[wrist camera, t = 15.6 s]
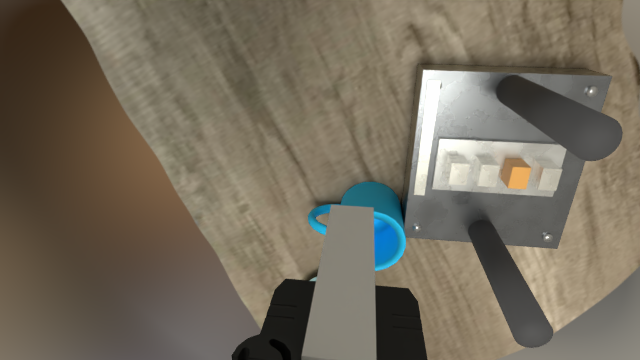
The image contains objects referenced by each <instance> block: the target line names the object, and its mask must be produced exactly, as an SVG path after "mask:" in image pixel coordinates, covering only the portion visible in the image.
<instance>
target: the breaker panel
mask: <svg viewBox="0 0 640 360" xmlns="http://www.w3.org/2000/svg"><path fill="white" fill-rule="evenodd" d="M511 75H518V76H521V77H523V78H525V79H528V80H530V81H532V82H534V83H536V84H539V85H541V86H543V87H545V88H547V89H550V90H552V91H554V92H556V93H558V94H561V95H563V96H565V97H567V98H569V99H572V100H574V101H576V102H578V103H580V104H583V105H585V106H587V107H589V108H591V109H594V110H596V111H598V112H600V113H601V110H602V107H603V104H604V101H605V97H606V94H607V91H608V88H609V85H610V82H611V79H612V76H610V75H606V74H603V73H599V72H596V71H592V70H589V69H576V68H544V67H511V66H479V65H446V64H418V67H417V75H416V84H415V93H414V101H413V110H412V119H411V127H410V136H409V145H408V153H407V162H406V171H405V180H404V188H403V197H402V206H401V210H402V217H403V223H404V230H405V236H406V237H408V238H421V239H434V240H447V241H460V242H472V241H471V239H470V237H469V234H468V229H469V227H470V225H471V224H472V223H474V222H475V221H478V220H487V221H489V222H491V223H492V224H493V225H494V227H495V229H496V231H497V232H498V234H499V236H500V238H501V239H502V241H503V243H504V245H513V246H527V247H540V248H553V249H557V248H558V245H559V242H560V239H561V236H562V232H563V229H564V226H565V223H566V220H567V217H568V214H569V210H570V207H571V204H572V201H573V198H574V195H575V192H576V188H577V185H578V182H579V179H580V176H581V173H582V170H583V166H584V163H585V160H582V159H580V158H578V157H576V156H575V155H574V154H572V153H571V152H569V151H568V150H567V149H565V148H564V147H562V146H561V145H560V144H558V143H557V142H555V141H554V140H553V139H551V138H550V137H549V136H547V135H546V134H544V133H543V132H542V131H540V130H539V129H537V128H536V127H535V126H533V125H532V124H530V123H529V122H528V121H526V120H525V119H523V118H522V117H521V116H519V115H518V114H517V113H515V112H514V111H512V110H511V109H510V108H508V107H507V106H505V105H504V104H503V103H501V102H500V101H499V100H498V98H497V95H496V90H497V87H498V85H499V83H500V82H501V81H502V80H503V79H504V78H506V77H508V76H511ZM505 159H523V160H524V161H525V162H526V163H527V164H528V165H529V166H530V167H531V172H530V176H529V180H528V183H527V187H526V189H512V188H507V187H506V185H505V184H504V183H503V181H502V180H501V176H502V171H503V167H504V162H505Z"/></svg>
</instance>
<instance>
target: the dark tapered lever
mask: <svg viewBox="0 0 640 360" xmlns="http://www.w3.org/2000/svg"><path fill="white" fill-rule="evenodd" d="M496 95H497V98H498V100H499V101H500V102H501V103H503V104H504V105H505V106H507V107H508V108H510V109H511V110H512V111H514V112H515V113H517V114H518V115H519V116H521V117H522V118H523V119H525V120H526V121H528V122H529V123H530V124H532V125H533V126H535V127H536V128H537V129H539V130H540V131H542V132H543V133H544V134H546V135H547V136H549V137H550V138H551V139H553V140H554V141H555V142H557V143H558V144H560V145H561V146H562V147H564V148H565V149H567V150H568V151H569V152H571V153H572V154H574V155H575V156H576V157H578V158H580V159H582V160H585V161H596V160H600V159H603V158H605V157H607V156H609V155H610V154H611V153H613V152H614V151H615V150H616V148H617V147H618V146H619V144H620V142H621V139H622V128H621V125H620V124H619V123H618V121H616V120H615V119H613V118H611V117H609V116H607V115H605V114H603V113H600V112H598V111H596V110H594V109H591V108H589V107H587V106H585V105H583V104H580V103H578V102H576V101H574V100H572V99H569V98H567V97H565V96H563V95H561V94H558V93H556V92H554V91H552V90H550V89H547V88H545V87H543V86H541V85H539V84H536V83H534V82H532V81H530V80H528V79H525V78H523V77H521V76H518V75H511V76H508V77H506V78H504V79H503V80H502V81H501V82H500V83H499V85H498V87H497V90H496Z"/></svg>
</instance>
